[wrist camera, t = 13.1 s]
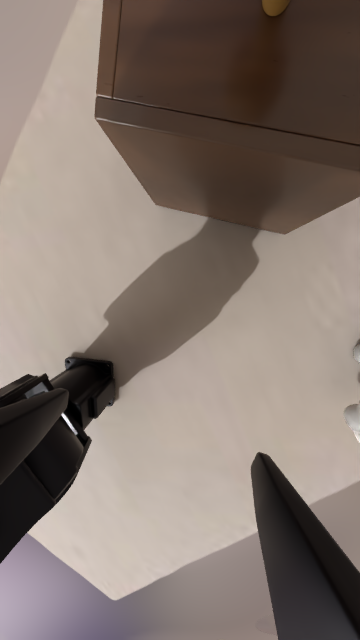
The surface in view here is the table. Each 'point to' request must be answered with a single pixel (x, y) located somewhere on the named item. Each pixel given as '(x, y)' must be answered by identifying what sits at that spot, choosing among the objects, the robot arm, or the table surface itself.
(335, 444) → the table surface
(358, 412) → the toy rhinoceros
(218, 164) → the shelf
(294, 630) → the robot arm
